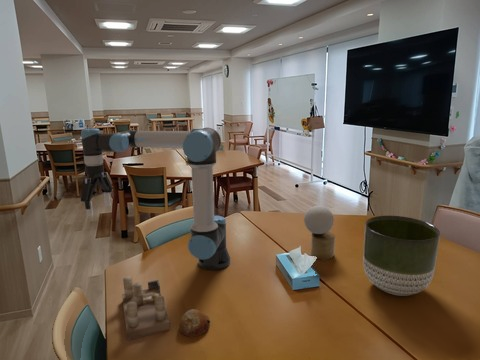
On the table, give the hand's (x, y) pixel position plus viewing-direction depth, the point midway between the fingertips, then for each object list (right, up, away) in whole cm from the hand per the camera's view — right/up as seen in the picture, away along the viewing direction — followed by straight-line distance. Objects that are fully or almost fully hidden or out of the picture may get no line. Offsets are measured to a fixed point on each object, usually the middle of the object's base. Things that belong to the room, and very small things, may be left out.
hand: (99, 210), depth 155 cm
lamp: (+103, -23, +18) cm, 107 cm away
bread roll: (+48, -37, -36) cm, 71 cm away
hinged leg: (+28, -32, -26) cm, 50 cm away
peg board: (+28, -35, -29) cm, 54 cm away
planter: (+127, -31, -14) cm, 131 cm away
